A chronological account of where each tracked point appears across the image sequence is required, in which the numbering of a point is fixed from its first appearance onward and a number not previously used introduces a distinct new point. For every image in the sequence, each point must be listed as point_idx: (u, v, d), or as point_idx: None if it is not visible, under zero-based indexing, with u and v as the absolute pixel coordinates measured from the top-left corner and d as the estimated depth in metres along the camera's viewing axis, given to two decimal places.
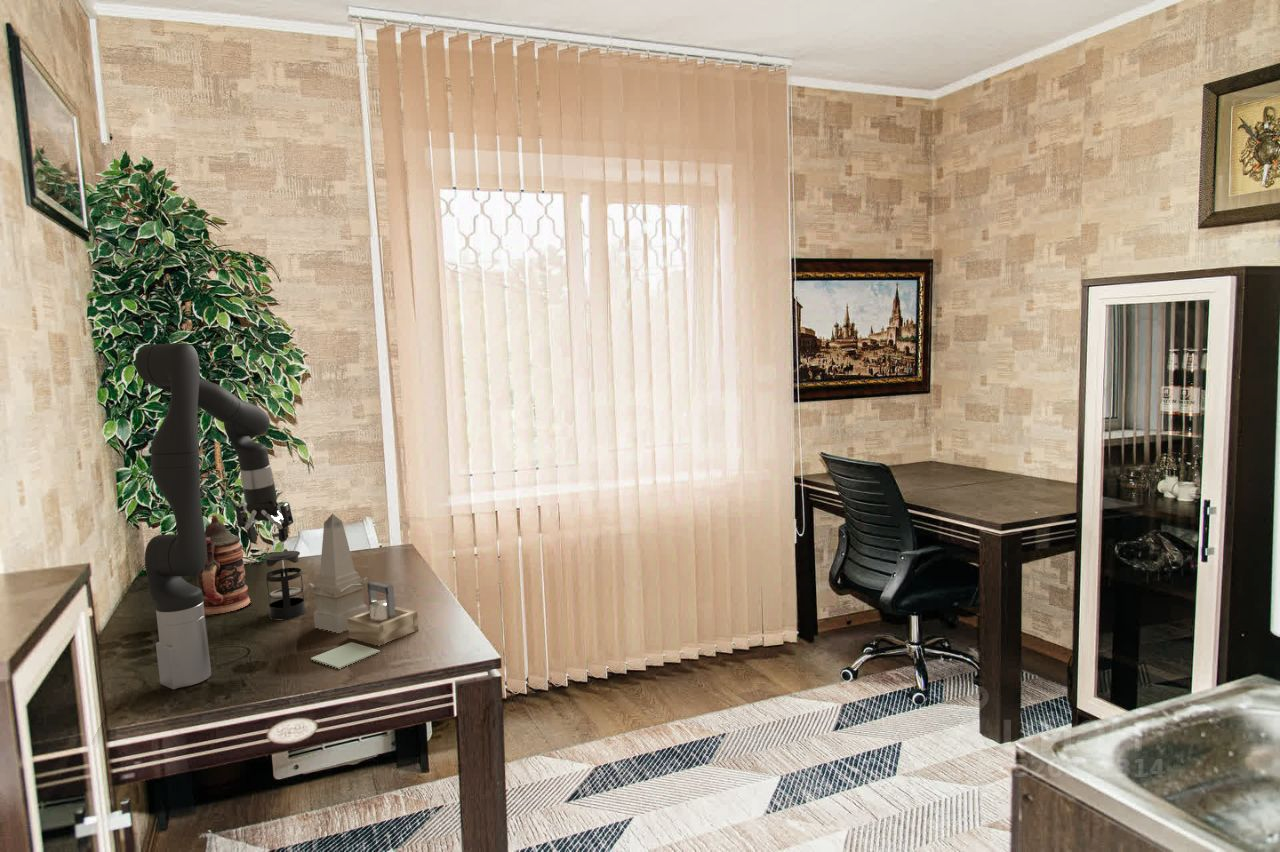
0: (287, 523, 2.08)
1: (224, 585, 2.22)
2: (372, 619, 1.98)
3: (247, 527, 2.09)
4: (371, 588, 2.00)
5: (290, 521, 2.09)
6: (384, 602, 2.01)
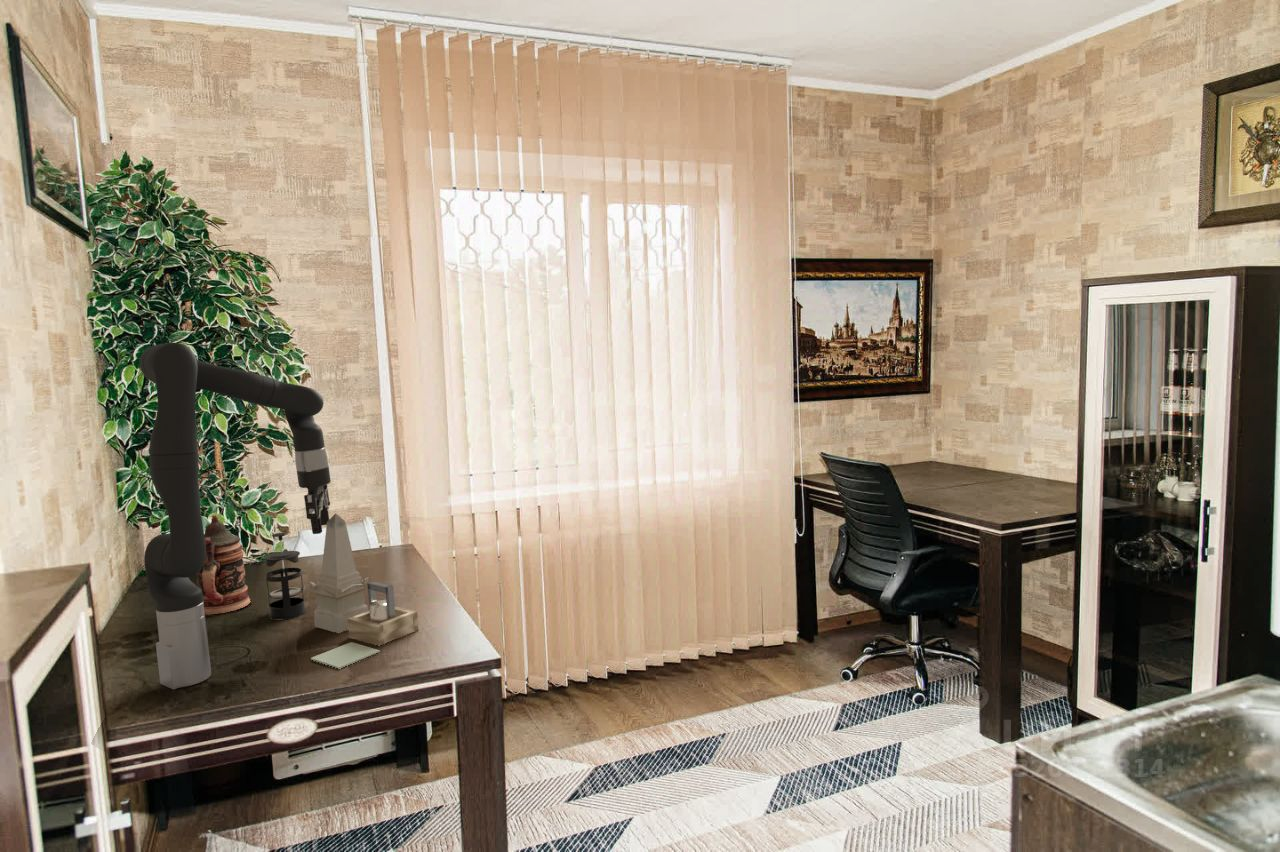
0: None
1: (224, 585, 2.22)
2: (372, 619, 1.98)
3: None
4: (371, 588, 2.00)
5: (312, 514, 1.94)
6: (384, 602, 2.01)
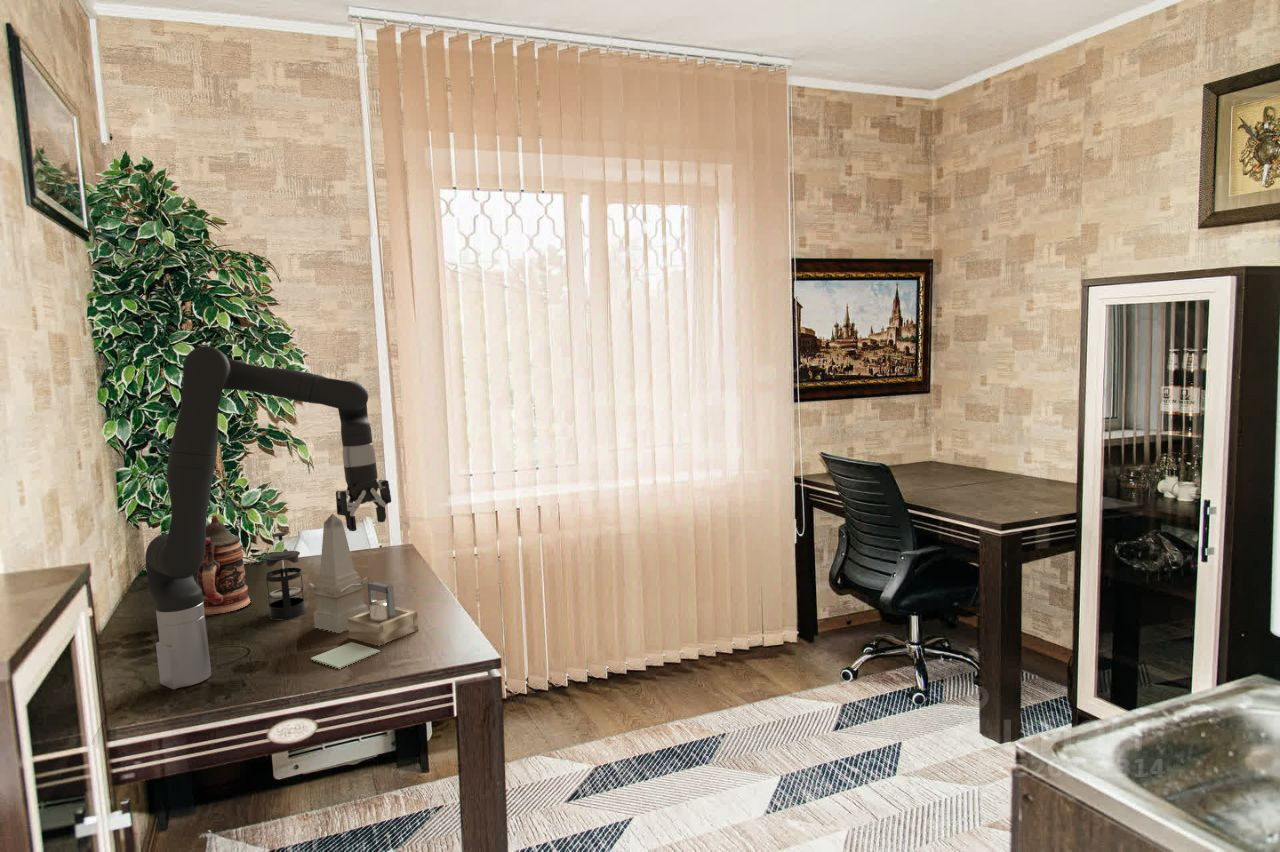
0: None
1: (224, 585, 2.22)
2: (372, 619, 1.98)
3: None
4: (371, 588, 2.00)
5: (341, 511, 1.90)
6: (384, 602, 2.01)
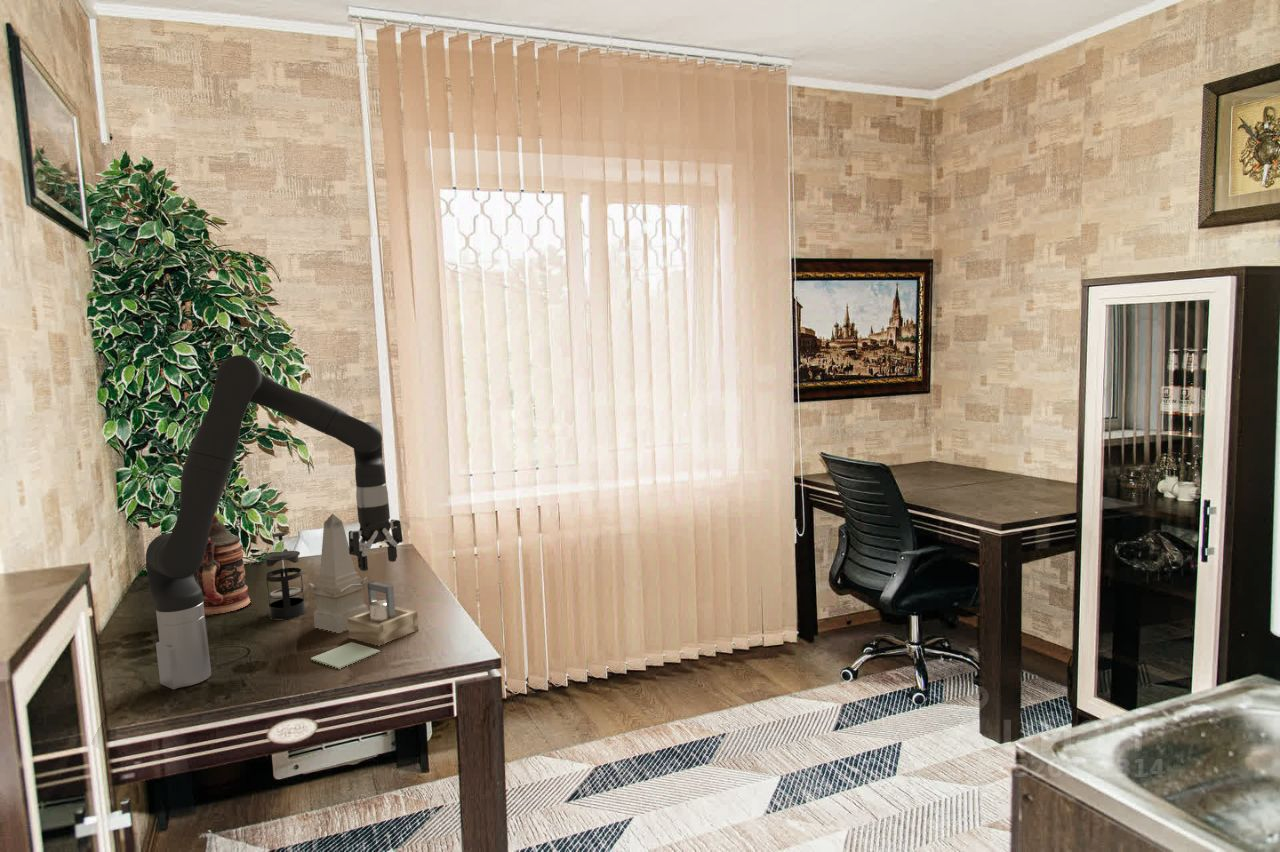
0: None
1: (224, 585, 2.22)
2: (372, 619, 1.98)
3: None
4: (371, 588, 2.00)
5: (353, 552, 1.93)
6: (384, 602, 2.01)
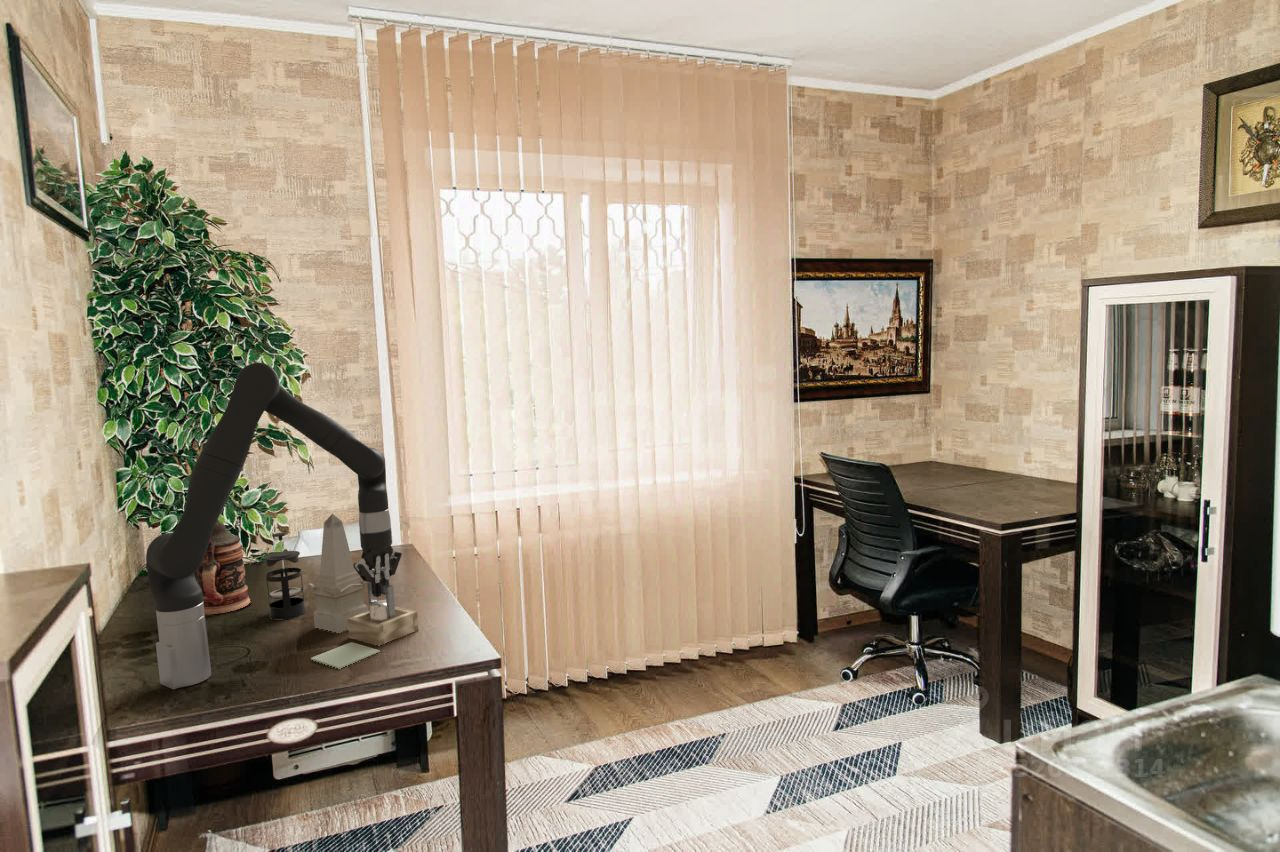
0: None
1: (224, 585, 2.22)
2: (372, 619, 1.98)
3: None
4: None
5: None
6: (384, 602, 2.01)
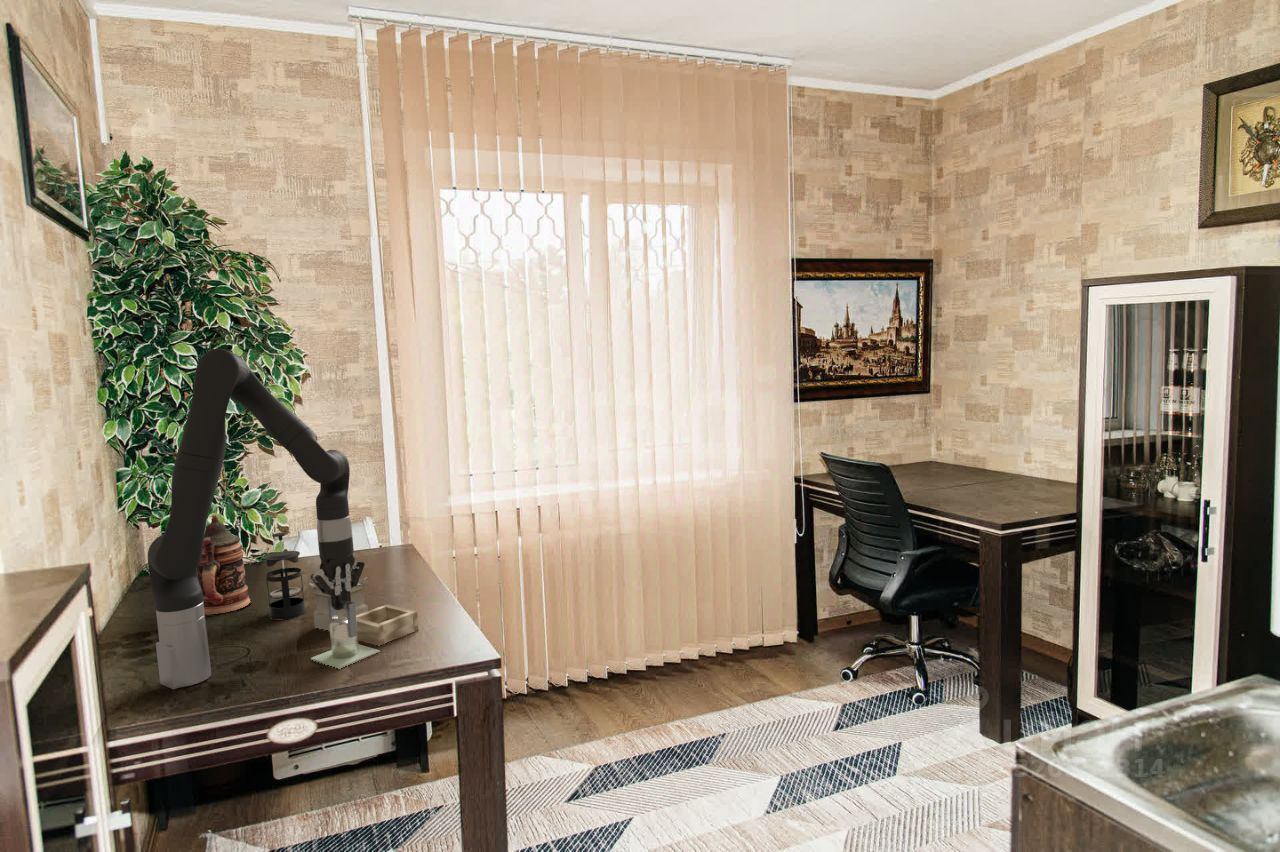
0: None
1: (224, 585, 2.22)
2: (332, 638, 1.84)
3: None
4: None
5: None
6: (345, 619, 1.87)
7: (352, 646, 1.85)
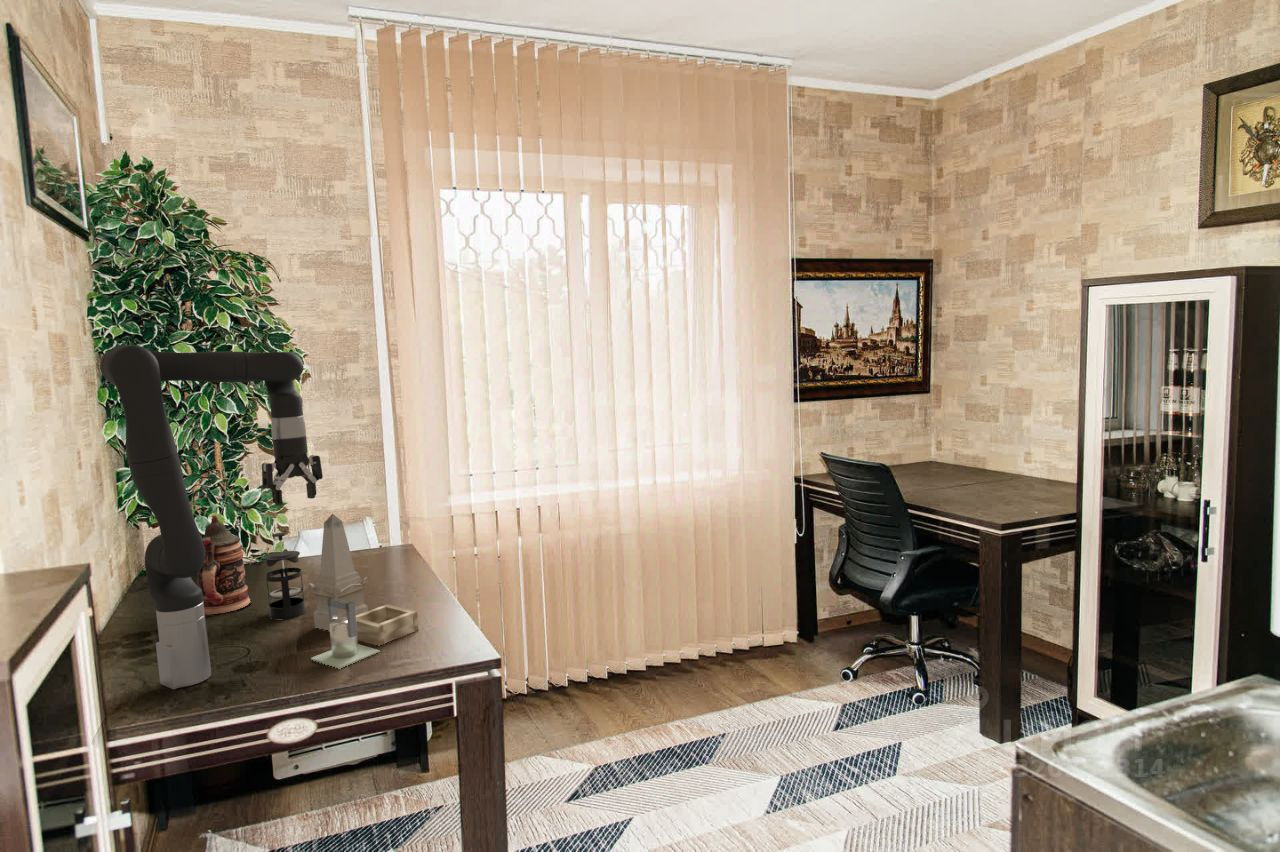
0: None
1: (224, 585, 2.22)
2: (332, 638, 1.84)
3: None
4: (331, 604, 1.87)
5: (266, 484, 1.85)
6: (345, 619, 1.87)
7: (352, 646, 1.85)
